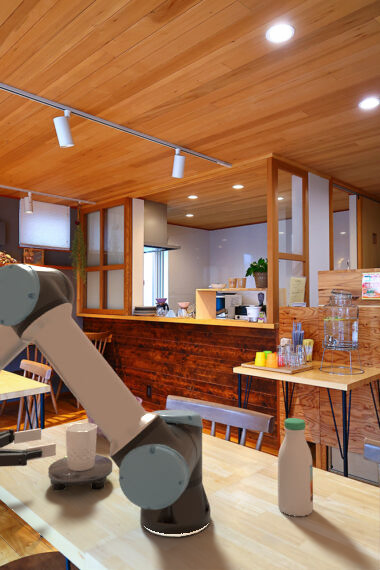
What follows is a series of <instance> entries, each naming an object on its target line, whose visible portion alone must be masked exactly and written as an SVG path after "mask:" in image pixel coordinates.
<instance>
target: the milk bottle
mask: <svg viewBox="0 0 380 570" xmlns="http://www.w3.org/2000/svg"><path fill="white" fill-rule="evenodd" d="M283 422H284V423H283V424H284V430H285V435H284V438H283V441H282V443H281V445H280V447H279V451H278V455H277V506H278V509H279V510H280V512H282V513H283V512H284V513H283V514H285V513H286V514H285V515H287V514H290V515H295V516H294V517H296V516H303V517H306V516H305V515H307V516H309V515H311V514H312V513H313V510H314V477H313V475H314V472H313V470H314V469H313V468H314V467H313V466H314V465H313V457H312V452H311V448H310V446H309V444H308V442H307V440H306V436H305V431H306V421H305V420H304V419H302V418H298V417H297V418H296V417H288V418H286V419H285V420H284V421H283ZM310 513H311V514H310ZM308 514H309V515H308ZM290 515H289V516H290Z"/></svg>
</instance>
